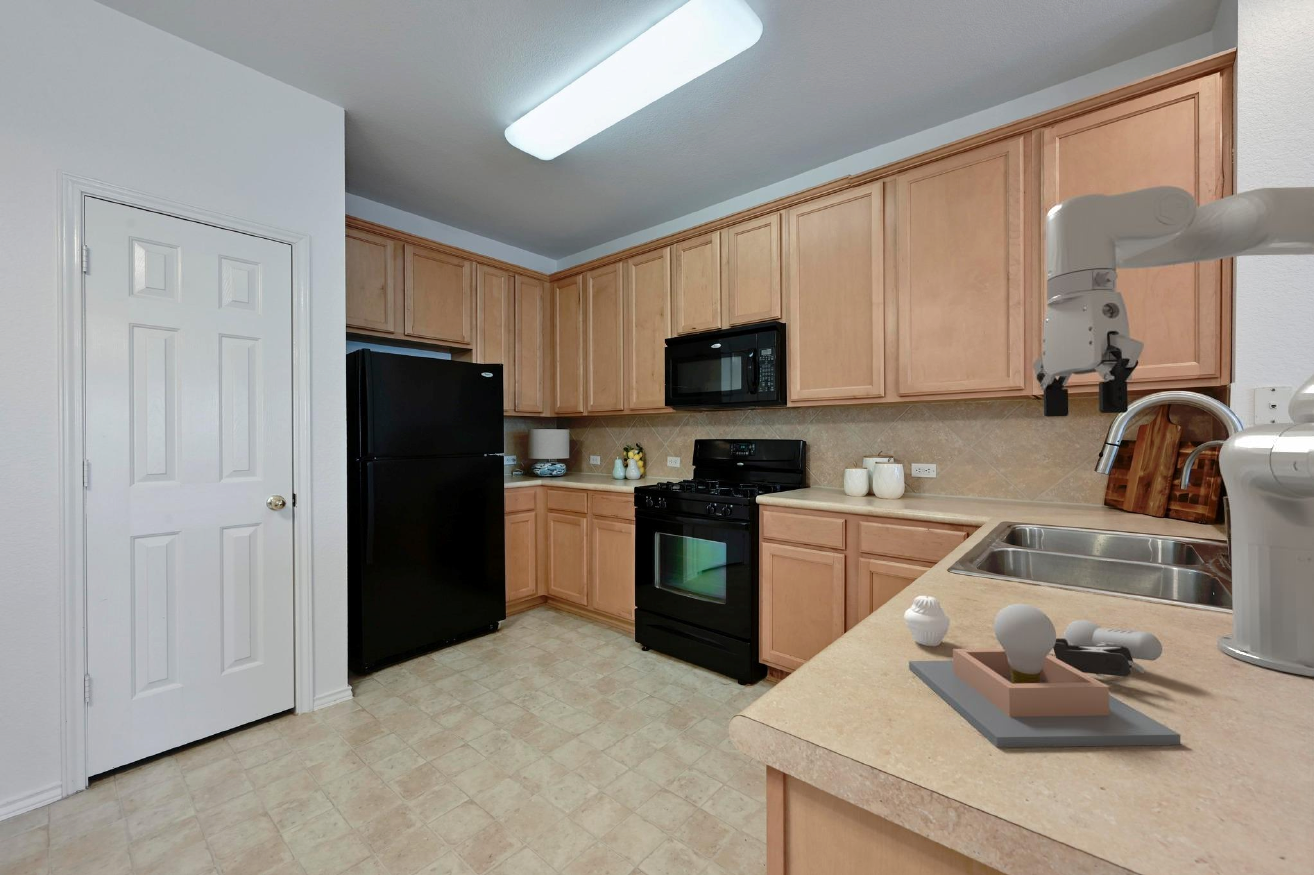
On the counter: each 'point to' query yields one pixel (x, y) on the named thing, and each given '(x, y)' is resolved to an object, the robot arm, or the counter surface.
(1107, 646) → the clip-on lamp
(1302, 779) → the counter surface
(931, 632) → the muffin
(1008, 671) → the holder board
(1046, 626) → the light bulb
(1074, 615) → the counter surface
